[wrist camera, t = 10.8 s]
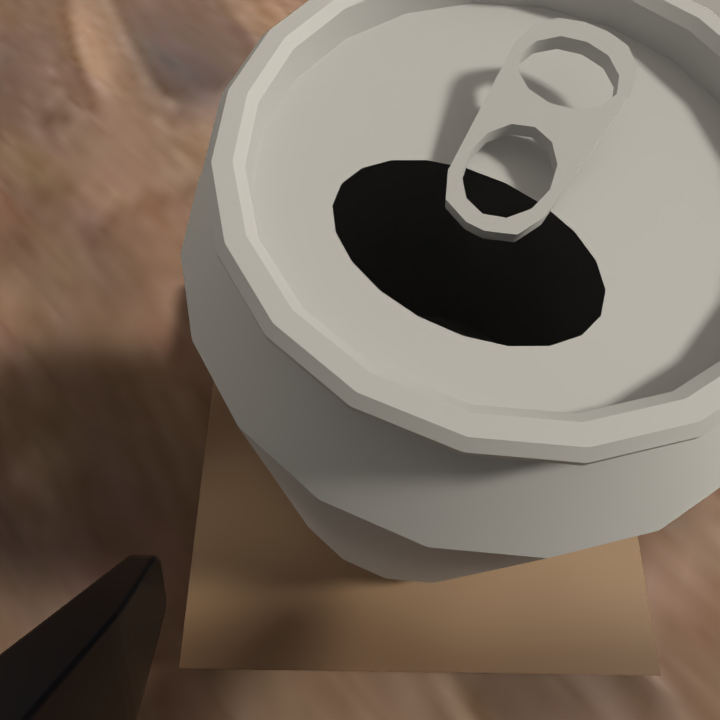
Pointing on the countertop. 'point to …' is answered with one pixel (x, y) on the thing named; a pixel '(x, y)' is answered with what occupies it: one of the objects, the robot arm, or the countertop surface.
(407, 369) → the can
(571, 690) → the countertop surface
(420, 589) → the tan board
